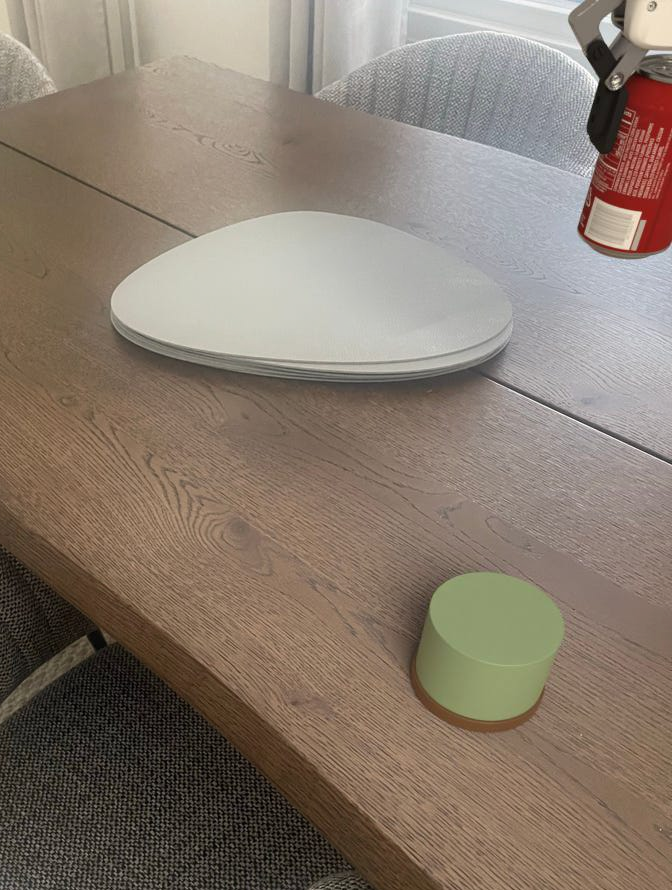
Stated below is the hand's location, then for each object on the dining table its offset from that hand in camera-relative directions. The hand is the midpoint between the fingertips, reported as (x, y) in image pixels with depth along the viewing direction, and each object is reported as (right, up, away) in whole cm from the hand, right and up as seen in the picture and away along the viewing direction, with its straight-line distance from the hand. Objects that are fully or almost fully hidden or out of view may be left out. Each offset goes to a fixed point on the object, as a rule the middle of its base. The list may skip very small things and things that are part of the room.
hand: (653, 144), depth 67 cm
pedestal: (-12, -38, 0) cm, 40 cm away
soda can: (0, -5, +5) cm, 7 cm away
